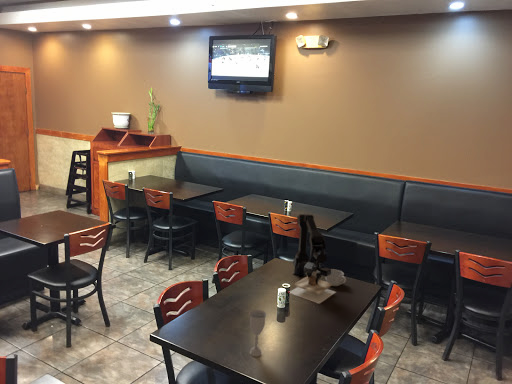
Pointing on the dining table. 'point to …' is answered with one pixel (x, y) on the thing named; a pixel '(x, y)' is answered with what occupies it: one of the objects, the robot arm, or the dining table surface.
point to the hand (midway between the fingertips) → (313, 282)
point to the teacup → (335, 277)
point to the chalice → (256, 328)
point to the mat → (312, 294)
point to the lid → (313, 284)
